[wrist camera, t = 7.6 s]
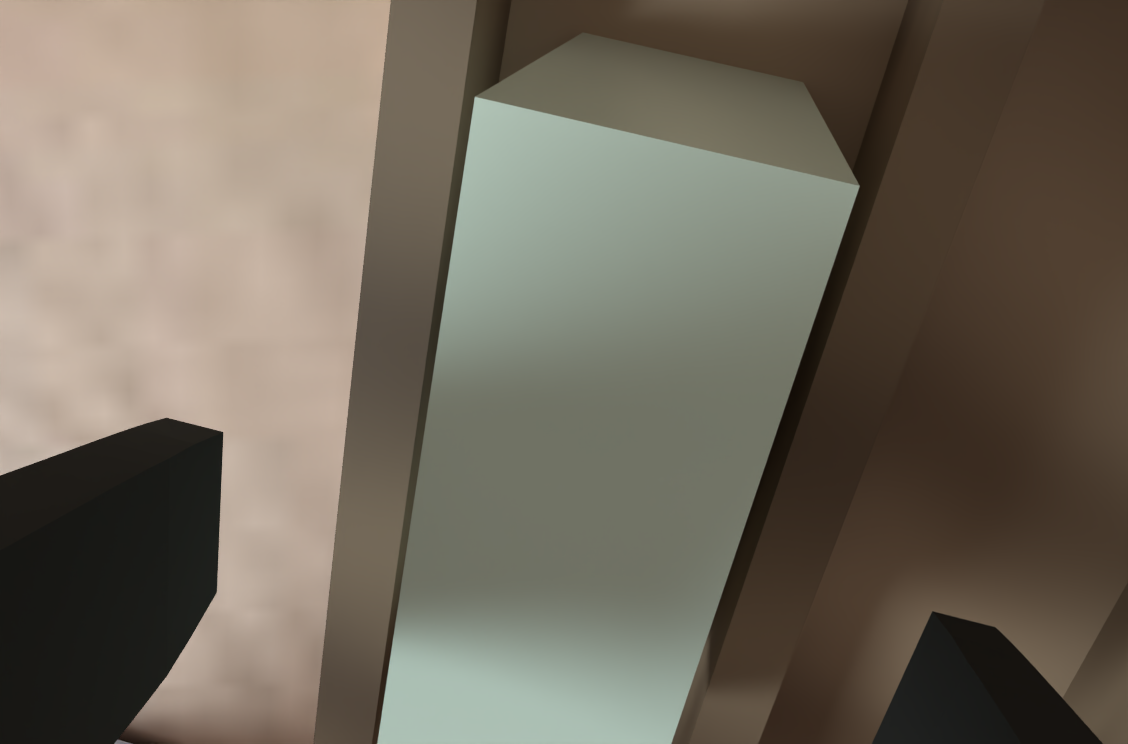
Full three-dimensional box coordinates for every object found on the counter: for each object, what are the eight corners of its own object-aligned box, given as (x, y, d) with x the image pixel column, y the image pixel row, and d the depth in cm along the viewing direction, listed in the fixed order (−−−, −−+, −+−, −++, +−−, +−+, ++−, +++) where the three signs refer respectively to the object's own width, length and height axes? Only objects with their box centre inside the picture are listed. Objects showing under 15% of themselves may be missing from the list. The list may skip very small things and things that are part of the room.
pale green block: (646, 610, 16) (606, 936, 11) (479, 565, 17) (358, 866, 11) (803, 81, 13) (859, 185, 7) (583, 32, 13) (474, 96, 7)
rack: (1016, 870, 19) (1064, 1025, 16) (341, 687, 20) (279, 806, 17) (1623, -147, 11) (1911, -176, 8) (466, -373, 12) (388, -465, 9)
